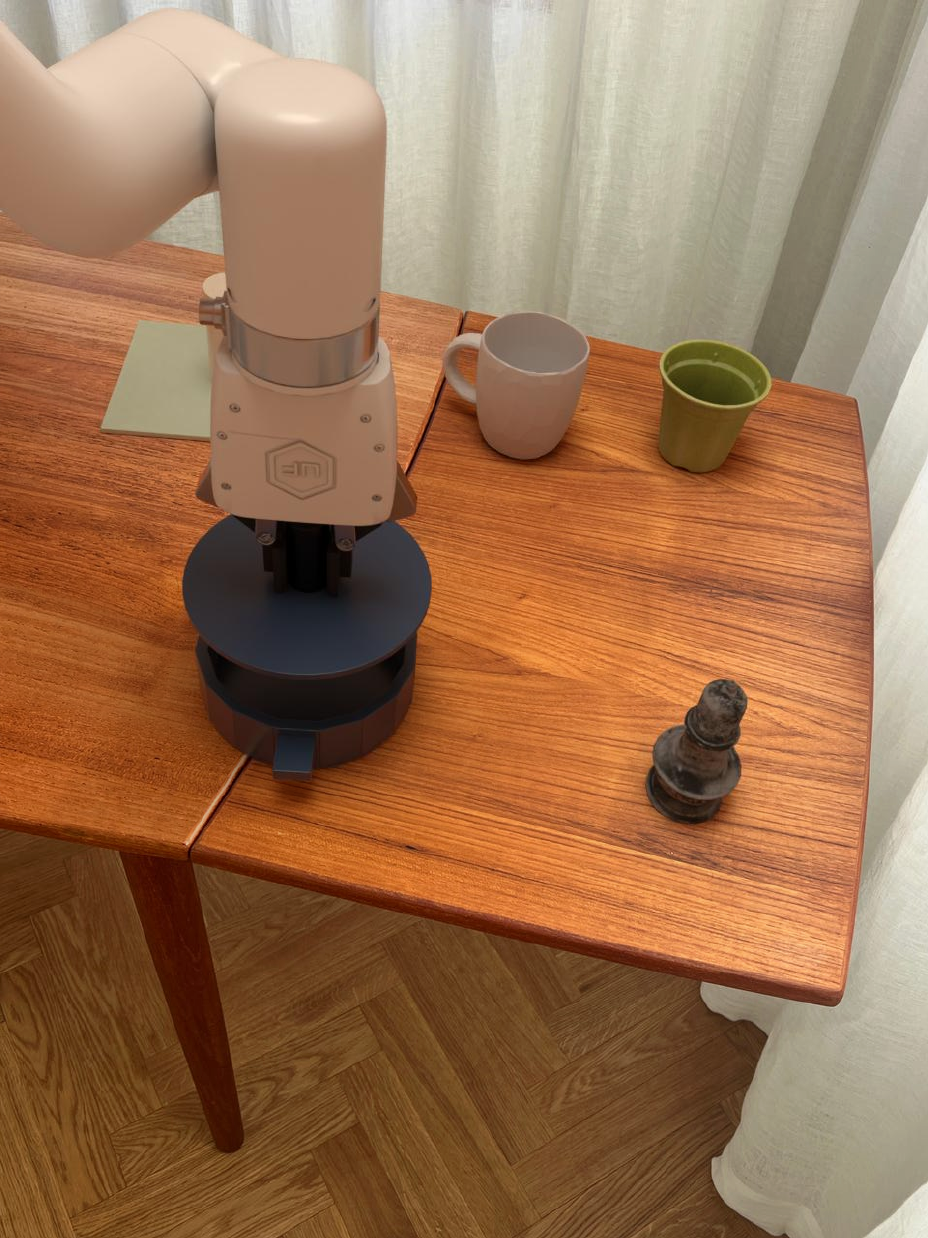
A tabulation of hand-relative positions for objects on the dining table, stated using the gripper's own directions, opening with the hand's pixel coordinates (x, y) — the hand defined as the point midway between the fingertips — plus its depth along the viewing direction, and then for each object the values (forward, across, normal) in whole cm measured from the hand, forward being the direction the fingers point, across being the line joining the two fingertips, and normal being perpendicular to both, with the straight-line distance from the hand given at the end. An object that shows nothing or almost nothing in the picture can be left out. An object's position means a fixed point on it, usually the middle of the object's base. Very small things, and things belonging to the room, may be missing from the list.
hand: (308, 576), depth 70 cm
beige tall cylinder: (+10, -10, +33) cm, 36 cm away
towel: (+11, -10, +33) cm, 36 cm away
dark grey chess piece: (+11, +26, -7) cm, 29 cm away
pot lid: (+1, 0, 0) cm, 1 cm away
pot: (+11, 0, 0) cm, 11 cm away
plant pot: (+11, +31, +29) cm, 44 cm away
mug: (+11, +14, +30) cm, 35 cm away
